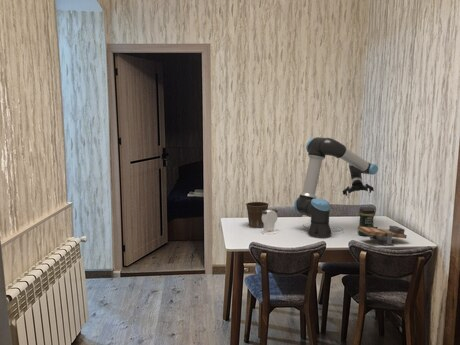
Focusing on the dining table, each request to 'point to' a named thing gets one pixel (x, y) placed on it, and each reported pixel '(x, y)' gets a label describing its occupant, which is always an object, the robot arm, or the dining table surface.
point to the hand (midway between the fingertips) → (358, 195)
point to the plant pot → (256, 213)
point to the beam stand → (383, 239)
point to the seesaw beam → (384, 231)
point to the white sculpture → (269, 221)
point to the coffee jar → (366, 218)
